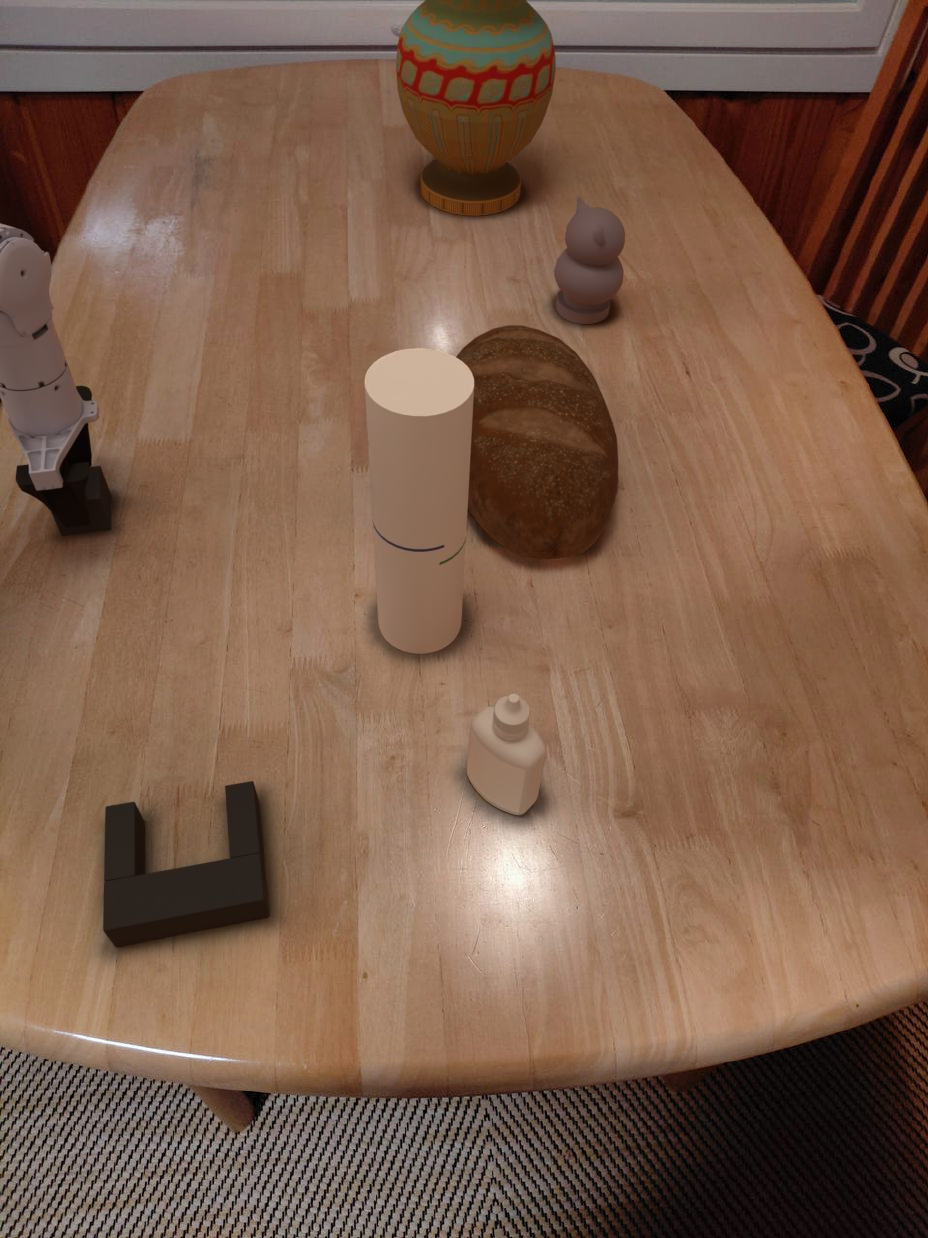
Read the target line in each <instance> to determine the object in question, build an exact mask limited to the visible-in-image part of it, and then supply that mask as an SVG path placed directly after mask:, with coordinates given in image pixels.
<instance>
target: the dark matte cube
mask: <svg viewBox="0 0 928 1238" xmlns="http://www.w3.org/2000/svg"><path fill="white" fill-rule="evenodd" d="M102 468H103V467H102V466H101V465H95V466H91V467H89V476H88V481H87V485H86V495H87V500H88V505H89V513H90V517H89V525H85V526H77V527H69V528H66V527H65V526H64V525H63V524H62V523H61V522H60V521H59V520H58V519H57V518H56V516H55V515H54V514H53V513H52V512H51V511H50V513H51V514H52V517H53V520H54V522H55V525H56V526H57V529H58V531H59V534H60V536H61V537H64V536H71V535H72V536H73V535H79V534H81V535H82V534H87V533H95V532H103V531H105V532H106V531H110V530H112V510H113V509H112V508H113V507H112V505H113V496H112V494H111V491H110V488H109V486H108V483H107V480H106V477H105V474H104V471H103V469H102Z"/></svg>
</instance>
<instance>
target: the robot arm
mask: <svg viewBox="0 0 928 1238" xmlns="http://www.w3.org/2000/svg"><path fill="white" fill-rule="evenodd" d="M34 241H35V239H34V237H33V236H32V235H31V234H29V233H28V232H27V231H25V230H23V229H20V228H17V227H14V226H11V225H7V224H3V223H1V222H0V400H1V402H2V404H3V406H4V409H5V412H6V413H7V417H8V419H7V420H8V421H7V422H8V424H9V427H10V430H11V431H12V434H13V435H14V437H15V439H16V441H17V443H18V446H19V447H20V449H21V451H22V453H23V455H24V458H25V459H26V461H27V464H19V465H16V471H15V482H16V484H17V487H18V488H19V489H20V491H21V492H23V493H25V494H28V495H30V496H31V497H33V498H35V499H37V500H38V501H39V502H41V504H43V505H44V506H45V507H46V508H47V509H48V510H49V512H50V513H51V512H52V513H53V514H54V515H55V516H56V518H57V519H58V520H59V521H60V522H61V523H62V524H63V525H64V526H65V527H66V528H69V527H77V526H85V525H89V517H90V513H89V505H88V500H87V495H86V485H87V481H88V476H89V467H92V461H93V454H92V445H91V436H90V428H89V423H95V422H97V421H98V420H99V418H100V407H99V404H98V402H97V401H95V400H93V393H92V390H91V388H90V387H88V386H87V385H76V383H75V379H74V378H73V375H72V372H71V369H70V366H69V363H68V361H67V358H66V357H67V356H66V354H65V352H64V349H63V346H62V343H61V340H60V337H59V335H58V331H57V329H56V327H55V323H54V321H53V310H54V306H53V303H52V300H51V296H50V287H51V280H52V261H51V260H52V259H51V256H50V252H48V251H44V250H42V249H41V247H39V245H38V243H36V242H34ZM52 513H51V514H52Z"/></svg>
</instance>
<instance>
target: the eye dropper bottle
mask: <svg viewBox="0 0 928 1238" xmlns="http://www.w3.org/2000/svg"><path fill="white" fill-rule="evenodd" d="M530 716H531V708H530V705H529V704H528V702H527V701H526V700H525V699H524V698H522V697H521V696H519V695H518V694H517V693H511V694H510V695H509V694H508V695H505V696H502V697H500V698H499V699H498V700H497V701H496V702H495V704H494V706H493V705H490V706H486V707H484V708H483V709H482V710H480V712H478V713H477V714H476V715H475V717H473V719H472V720H471V723H470V728H469V737H468V747H467V749H468V750H467V762H466V775H467V778H468V780H469V781H470V784H471V785H472V787H473V788H474V789H475V791H476V792H477V793H478V794H479V795H480V796H481V797H482V798H483V799H484V801H486V802H488V803H489V804H491V805H492V806H493V807H495V808H497V809H499V810H501V811H503V812H506V813H507V814H511V815H515V816H523V815H524V814H525V813H526V812H527V811H529V809H530V808H531V807H532V806H533V805H534V804H535V803H536V802H537V800H538V797H539V794H540V793H539V792H540V788H541V783H542V779H543V773H544V768H545V763H546V757H547V748H546V745H545V743H544V741H543V739H542V737H541V735H540V734H539V733H538V731H537V730H536V728H534V726H533V725H532V724H531V723H530Z"/></svg>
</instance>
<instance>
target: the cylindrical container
mask: <svg viewBox="0 0 928 1238" xmlns="http://www.w3.org/2000/svg"><path fill="white" fill-rule="evenodd" d="M364 395H365V396H364V398H365V400H364V401H365V416H366V432H367V447H368V450H367V451H368V465H369V467H368V469H369V485H370V486H369V487H370V503H371V519H372V535H373V536H372V537H373V538H372V539H373V552H374V553H373V554H374V555H373V557H374V571H375V572H374V573H375V587H376V588H375V589H376V606H377V624H378V628H379V632H380V634H381V635H382V637H383V638H384V640H385V641H386V642H388V644H390V645H391V646H392V647H394V648H395V649H397V650H398V651H402V652H405V653H409V654H413V655H414V654H415V655H419V654H420V655H425V654H431V653H435V652H438V651H440V650H442V649H444V648H446V647H448V646H449V645H450V644H451V643H453V642H454V640H455V639H456V638H457V637H458V636H459V633H460V631H461V627H462V620H463V601H464V599H463V598H464V582H465V566H466V565H465V563H466V546H467V545H466V543H467V527H468V526H467V524H468V510H469V508H468V491H469V472H470V453H471V435H472V416H473V398H474V377H473V375H472V372H471V371H470V369H469V368H468V366H467V365H466V364H464V363H463V362H462V361H461V360H459V359H458V358H456V356H455V355H452V354H450V353H447V352H445V351H441V350H437V349H434V348H433V349H431V348H425V347H423V348H421V347H414V348H413V347H412V348H404V349H399V350H395V351H392V352H389V353H387V354H385V355H383V356H381V357H379V358H378V359H376V361H374V362H373V363H372V364H371V365H370V366H369V368H368V369H367V371H366V372H365V375H364Z"/></svg>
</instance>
